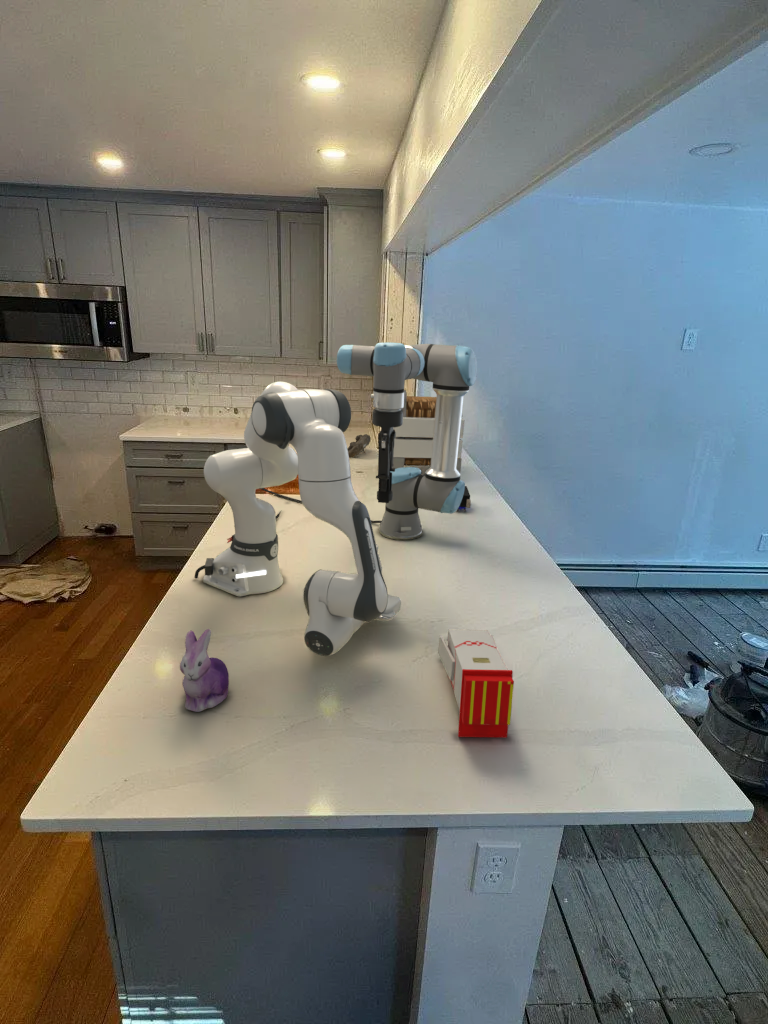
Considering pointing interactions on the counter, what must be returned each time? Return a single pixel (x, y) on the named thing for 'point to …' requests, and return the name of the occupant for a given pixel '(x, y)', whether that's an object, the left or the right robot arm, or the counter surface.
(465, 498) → the figurine character
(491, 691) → the toy
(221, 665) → the figurine
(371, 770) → the counter surface
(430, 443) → the gray slatted crate
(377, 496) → the cap
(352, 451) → the fossil
